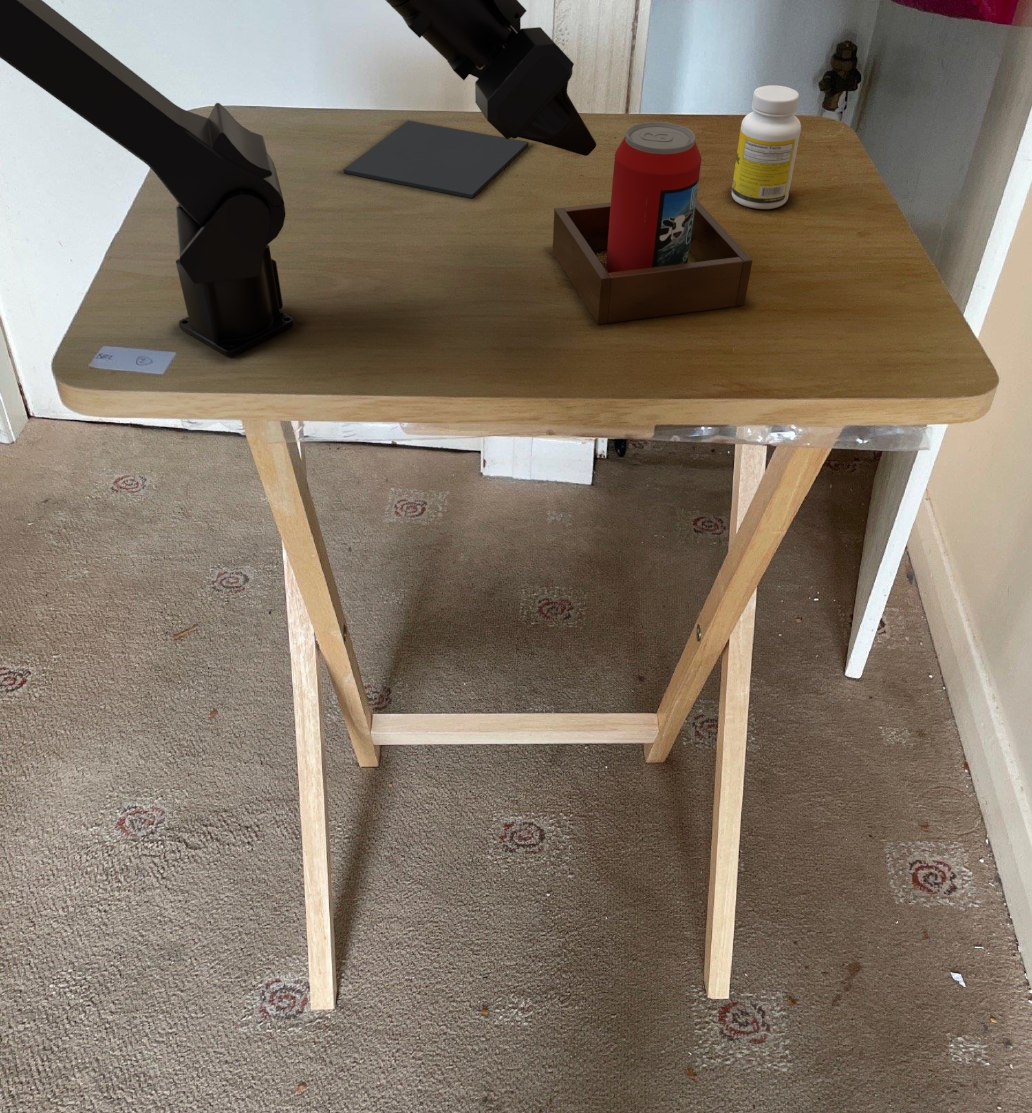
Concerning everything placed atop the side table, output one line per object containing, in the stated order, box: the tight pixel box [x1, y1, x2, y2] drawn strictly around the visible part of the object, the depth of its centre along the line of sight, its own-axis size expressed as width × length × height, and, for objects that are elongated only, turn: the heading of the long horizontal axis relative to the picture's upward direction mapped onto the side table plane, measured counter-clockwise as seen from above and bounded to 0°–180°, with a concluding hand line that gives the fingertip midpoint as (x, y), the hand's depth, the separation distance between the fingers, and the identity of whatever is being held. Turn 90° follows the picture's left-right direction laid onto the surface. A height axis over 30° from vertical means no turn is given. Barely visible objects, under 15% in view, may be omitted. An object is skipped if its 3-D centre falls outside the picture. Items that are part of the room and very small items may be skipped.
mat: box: [342, 120, 529, 199], centre depth 105 cm, size 14×14×1 cm
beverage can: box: [605, 121, 702, 273], centre depth 84 cm, size 7×7×12 cm
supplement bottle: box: [731, 84, 802, 210], centre depth 96 cm, size 5×5×10 cm
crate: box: [552, 199, 753, 325], centre depth 86 cm, size 13×13×4 cm
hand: (572, 125), depth 77 cm, fingers open, 9 cm apart
